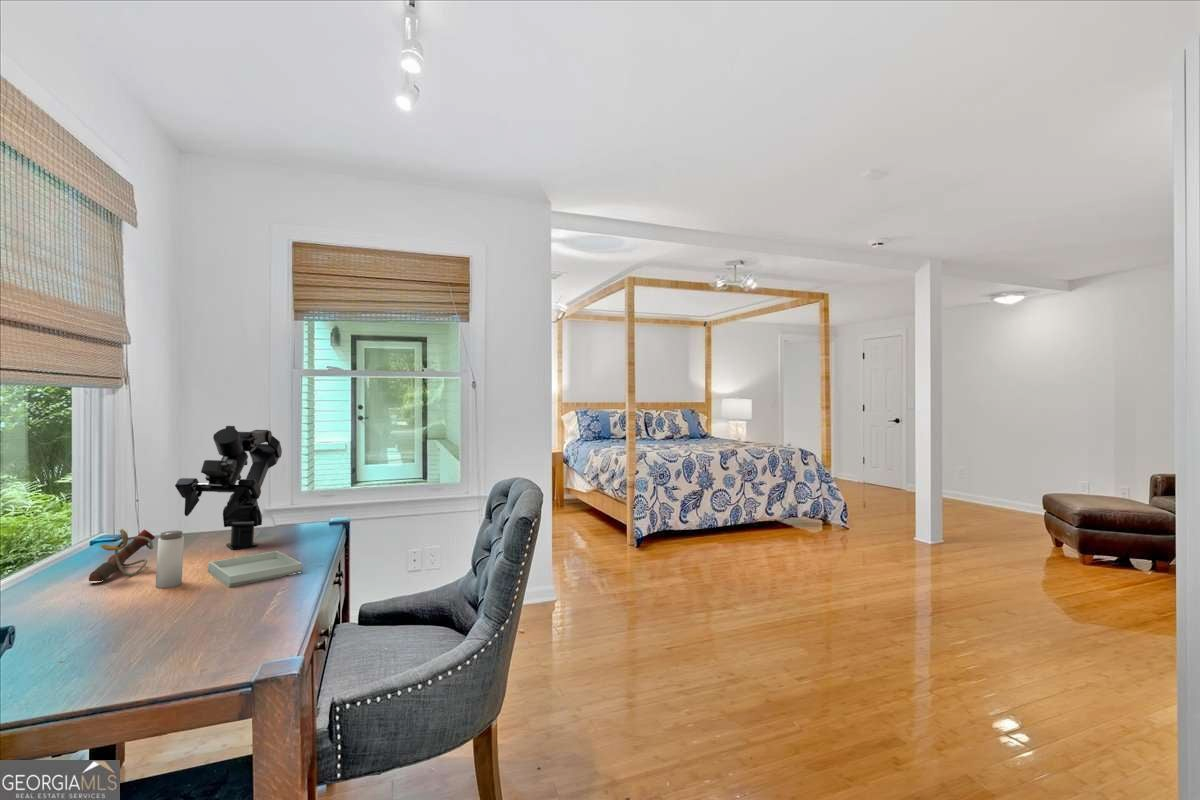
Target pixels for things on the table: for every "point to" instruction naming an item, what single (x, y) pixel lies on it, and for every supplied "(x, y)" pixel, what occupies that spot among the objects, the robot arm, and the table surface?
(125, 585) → the table surface
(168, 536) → the jar with lid
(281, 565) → the bin
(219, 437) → the robot arm
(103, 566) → the slingshot
